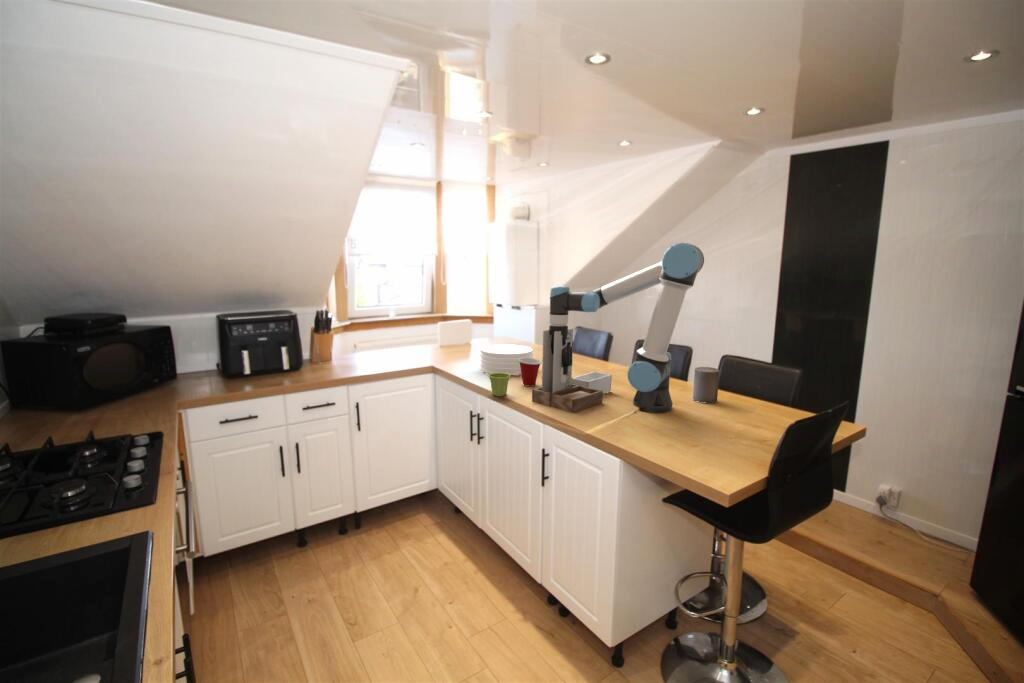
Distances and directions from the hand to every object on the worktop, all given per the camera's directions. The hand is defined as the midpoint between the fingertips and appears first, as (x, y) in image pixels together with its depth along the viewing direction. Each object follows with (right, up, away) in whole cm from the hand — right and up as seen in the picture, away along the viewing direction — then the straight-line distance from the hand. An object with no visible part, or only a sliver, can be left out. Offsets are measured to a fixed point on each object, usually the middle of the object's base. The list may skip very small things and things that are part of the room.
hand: (556, 380), depth 188 cm
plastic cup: (-10, -5, +27) cm, 30 cm away
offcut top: (+7, -7, -6) cm, 12 cm away
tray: (+4, -9, -2) cm, 10 cm away
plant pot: (-24, -7, +10) cm, 27 cm away
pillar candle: (+63, -9, +6) cm, 64 cm away
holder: (+16, -7, +13) cm, 22 cm away
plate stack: (-21, +1, +58) cm, 62 cm away
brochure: (0, -9, +1) cm, 9 cm away
